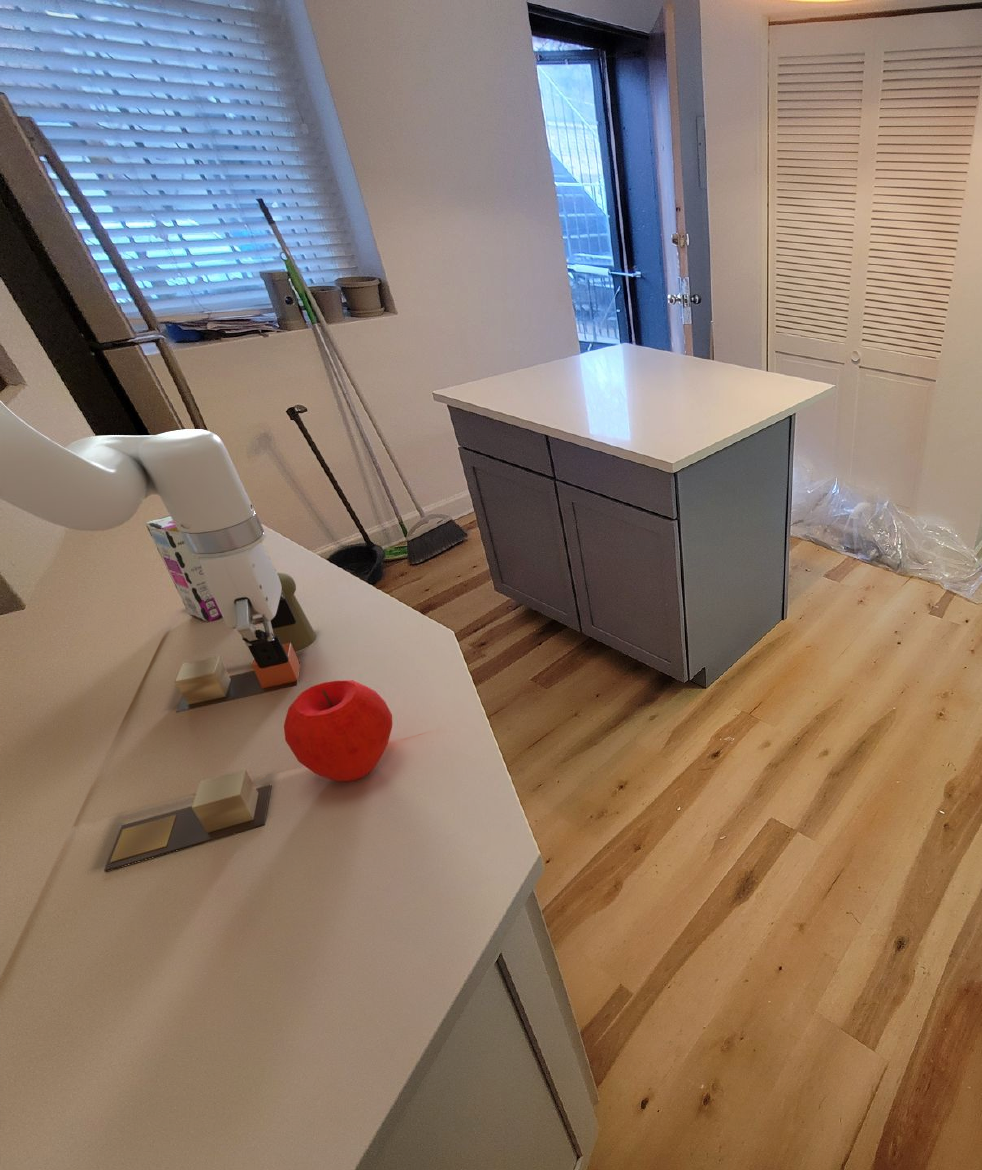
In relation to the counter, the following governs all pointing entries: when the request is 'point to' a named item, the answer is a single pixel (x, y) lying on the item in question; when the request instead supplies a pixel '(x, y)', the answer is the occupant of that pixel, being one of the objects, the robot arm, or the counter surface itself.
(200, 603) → the candy bar box
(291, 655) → the orange rounded box
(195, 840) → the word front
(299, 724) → the apple
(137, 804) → the counter surface
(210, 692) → the grey rectangular tray
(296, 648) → the olive green shaker
